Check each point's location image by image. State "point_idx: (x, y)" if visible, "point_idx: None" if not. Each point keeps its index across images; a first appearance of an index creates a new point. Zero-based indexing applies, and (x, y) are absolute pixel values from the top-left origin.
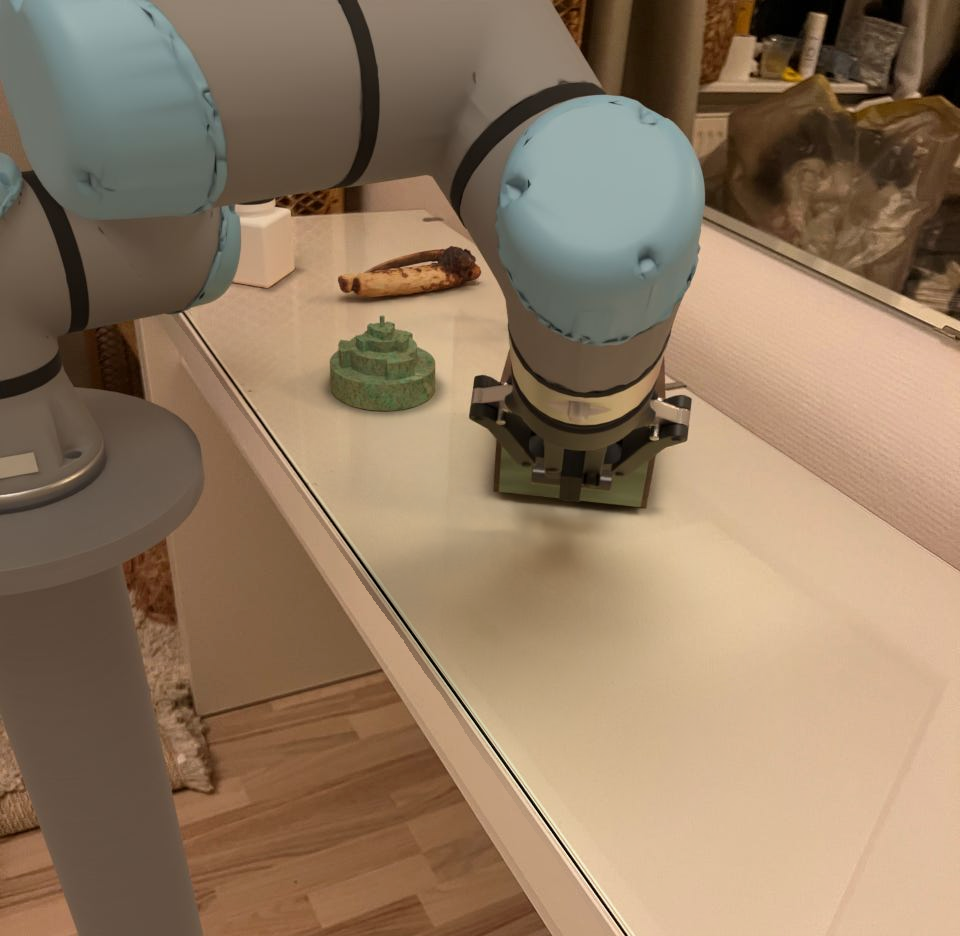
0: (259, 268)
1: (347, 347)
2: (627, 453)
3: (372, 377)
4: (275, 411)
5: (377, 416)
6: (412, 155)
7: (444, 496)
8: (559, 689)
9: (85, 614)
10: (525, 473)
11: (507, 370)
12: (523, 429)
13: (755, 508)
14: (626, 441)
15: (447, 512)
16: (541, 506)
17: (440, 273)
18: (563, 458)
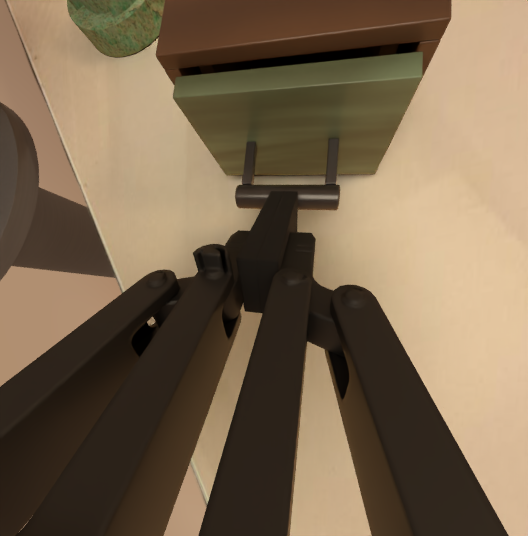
0: None
1: None
2: (359, 470)
3: (101, 16)
4: (53, 82)
5: (127, 65)
6: None
7: (183, 181)
8: None
9: (50, 250)
10: (243, 161)
11: (167, 15)
12: (86, 409)
13: (521, 133)
14: (358, 427)
15: (186, 207)
16: (270, 180)
17: None
18: (239, 300)
